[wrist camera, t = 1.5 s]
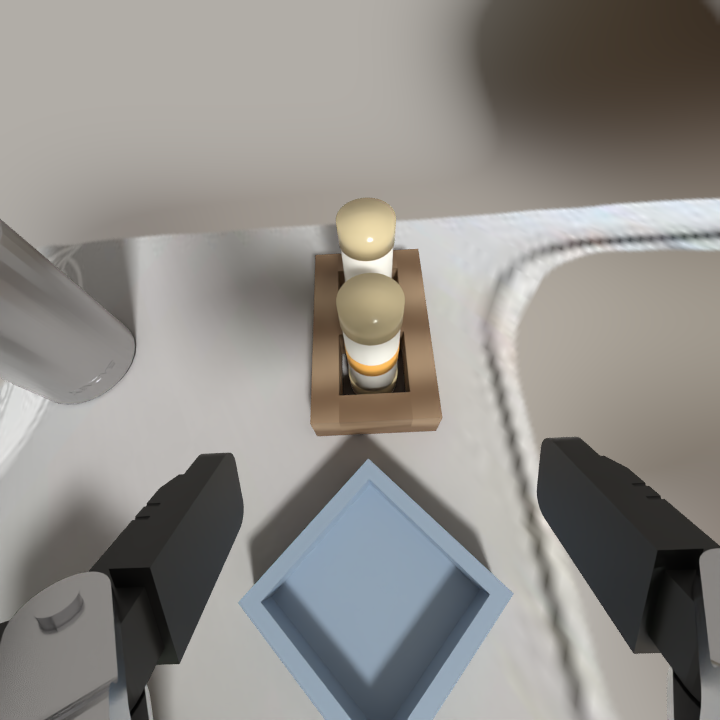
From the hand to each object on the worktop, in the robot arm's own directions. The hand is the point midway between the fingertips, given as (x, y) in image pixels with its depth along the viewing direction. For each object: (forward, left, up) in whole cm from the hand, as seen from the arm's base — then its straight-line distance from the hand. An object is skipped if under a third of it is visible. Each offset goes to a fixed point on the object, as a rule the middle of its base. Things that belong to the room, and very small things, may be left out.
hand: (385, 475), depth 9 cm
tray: (+3, -4, -20) cm, 21 cm away
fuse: (-13, +13, -20) cm, 28 cm away
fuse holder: (-11, +11, -20) cm, 25 cm away
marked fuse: (-8, +8, -20) cm, 23 cm away
